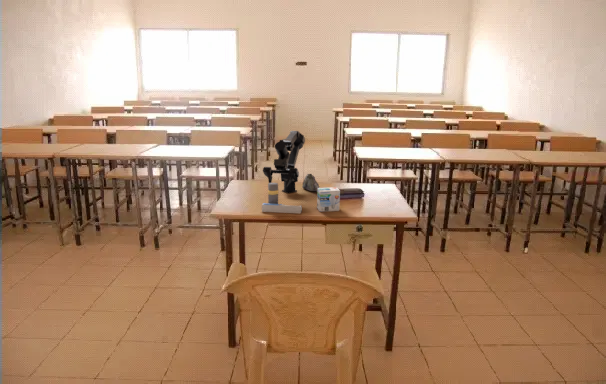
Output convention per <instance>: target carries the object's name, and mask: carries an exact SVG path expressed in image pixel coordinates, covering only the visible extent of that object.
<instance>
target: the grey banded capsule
mask: <svg viewBox="0 0 606 384" xmlns="http://www.w3.org/2000/svg"><path fill="white" fill-rule="evenodd" d="M267 188H268V190H267V197H268V203H269V204H279V183H278V182H271V183H269V182H268V183H267Z"/></svg>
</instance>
